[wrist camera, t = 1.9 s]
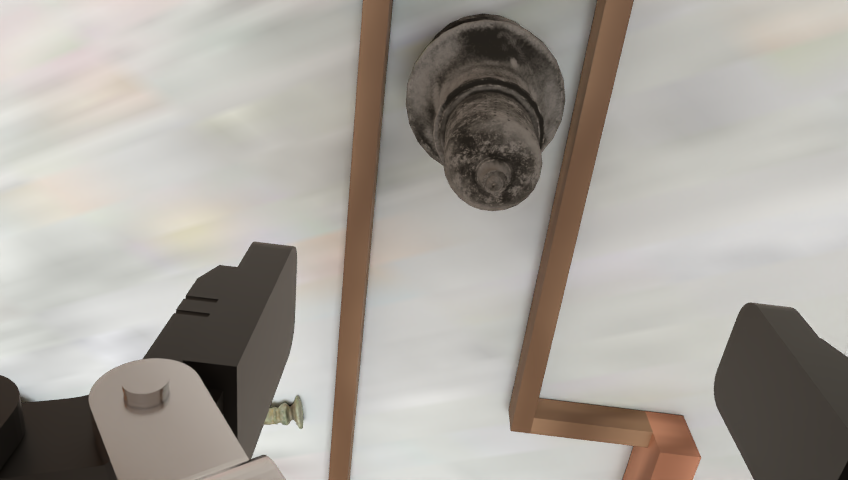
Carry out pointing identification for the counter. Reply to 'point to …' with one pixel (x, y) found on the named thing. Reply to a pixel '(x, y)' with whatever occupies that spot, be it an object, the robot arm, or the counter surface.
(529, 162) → the salt shaker
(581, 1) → the counter surface
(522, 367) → the track
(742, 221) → the counter surface
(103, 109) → the counter surface
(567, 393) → the counter surface
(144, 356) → the robot arm
